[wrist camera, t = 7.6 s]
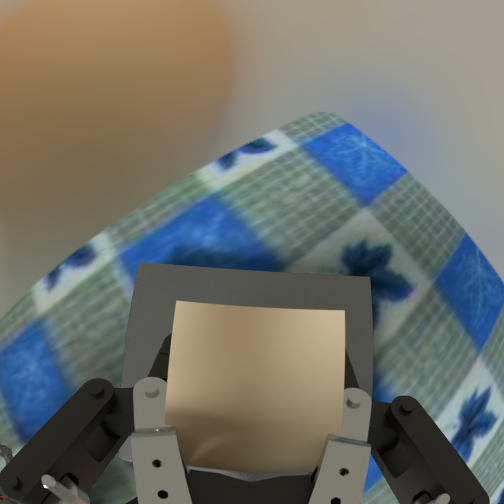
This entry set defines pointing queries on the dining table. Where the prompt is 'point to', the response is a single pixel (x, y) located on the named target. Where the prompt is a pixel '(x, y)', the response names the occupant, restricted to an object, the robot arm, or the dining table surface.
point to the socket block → (240, 294)
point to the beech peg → (255, 385)
